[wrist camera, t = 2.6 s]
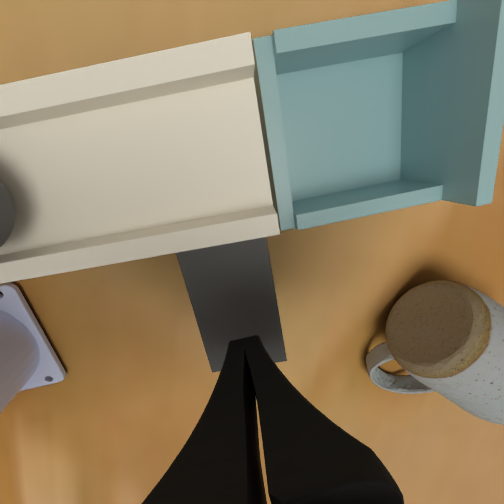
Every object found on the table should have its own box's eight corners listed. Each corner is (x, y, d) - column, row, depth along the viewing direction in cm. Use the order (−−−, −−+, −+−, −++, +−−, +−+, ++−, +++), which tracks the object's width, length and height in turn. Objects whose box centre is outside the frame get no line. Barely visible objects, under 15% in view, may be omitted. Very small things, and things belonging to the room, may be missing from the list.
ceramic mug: (422, 257, 20) (534, 315, 13) (486, 302, 22) (611, 373, 15) (337, 357, 23) (391, 451, 15) (402, 388, 25) (475, 483, 18)
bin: (269, 217, 17) (293, 245, 12) (245, 65, 14) (262, 7, 9) (406, 188, 18) (491, 202, 12) (410, 36, 15) (526, -36, 9)
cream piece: (55, 383, 15) (3, 446, 12) (-94, 131, 11) (-247, 122, 7) (293, 346, 15) (306, 401, 11) (249, 60, 10) (250, 15, 7)
